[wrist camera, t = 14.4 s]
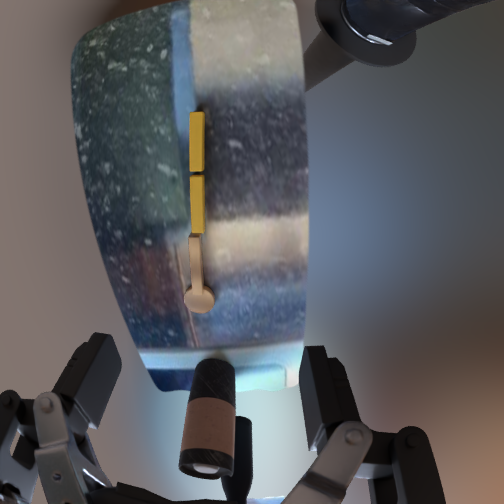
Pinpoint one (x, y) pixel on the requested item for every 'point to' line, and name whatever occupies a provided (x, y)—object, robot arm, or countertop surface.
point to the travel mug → (210, 422)
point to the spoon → (197, 279)
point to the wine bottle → (240, 463)
